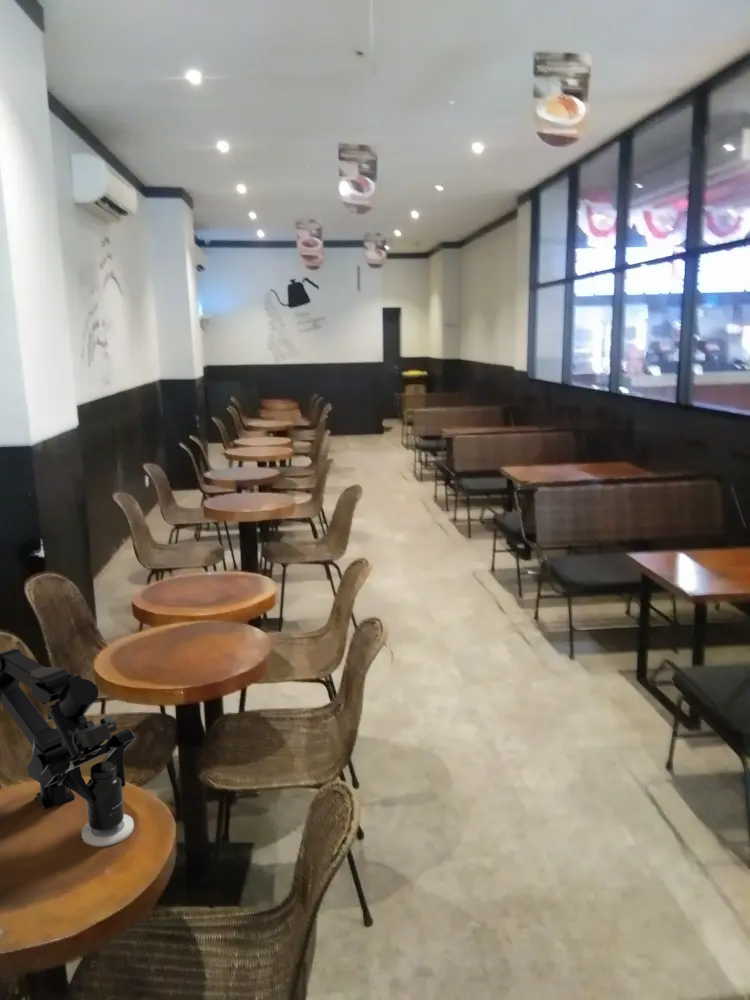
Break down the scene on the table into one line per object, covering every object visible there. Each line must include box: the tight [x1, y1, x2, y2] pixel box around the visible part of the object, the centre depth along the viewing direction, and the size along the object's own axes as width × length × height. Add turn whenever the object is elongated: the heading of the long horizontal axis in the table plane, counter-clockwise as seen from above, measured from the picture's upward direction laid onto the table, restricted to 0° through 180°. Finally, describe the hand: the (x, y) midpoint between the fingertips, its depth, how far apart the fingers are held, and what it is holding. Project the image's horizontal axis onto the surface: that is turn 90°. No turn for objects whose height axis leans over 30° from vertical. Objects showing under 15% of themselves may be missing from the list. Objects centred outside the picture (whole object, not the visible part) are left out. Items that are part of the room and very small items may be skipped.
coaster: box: [81, 813, 135, 848], centre depth 157 cm, size 10×10×1 cm
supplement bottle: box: [86, 760, 125, 831], centre depth 156 cm, size 7×7×12 cm
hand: (108, 794), depth 155 cm, fingers closed on supplement bottle, 7 cm apart
